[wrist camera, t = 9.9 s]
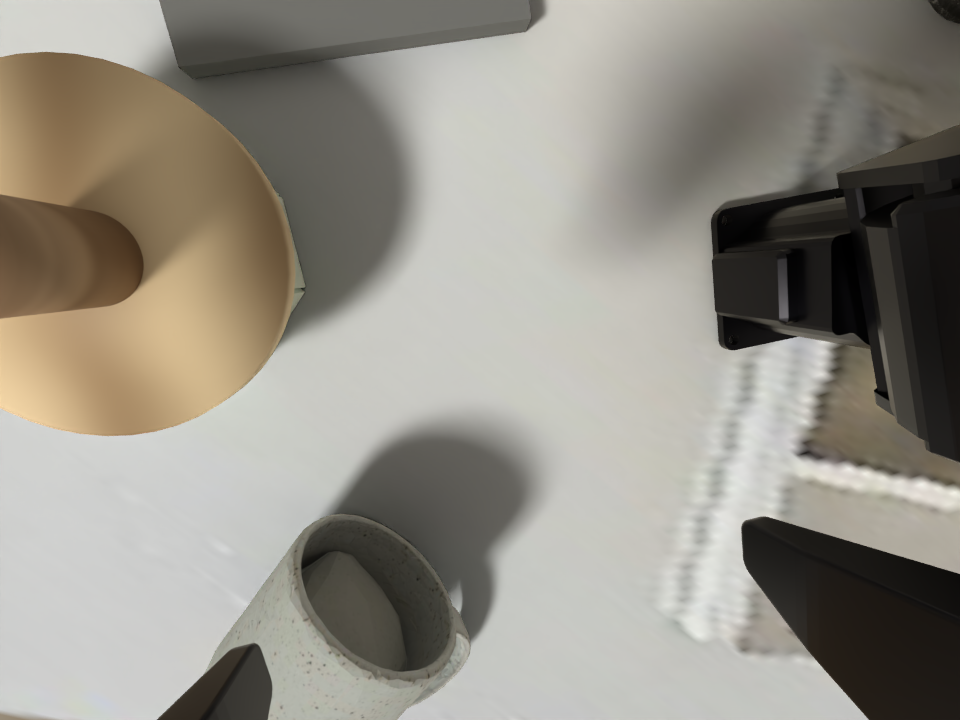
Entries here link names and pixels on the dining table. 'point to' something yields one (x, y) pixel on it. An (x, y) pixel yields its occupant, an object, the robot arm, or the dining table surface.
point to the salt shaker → (948, 9)
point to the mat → (323, 29)
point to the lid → (129, 251)
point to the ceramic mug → (352, 625)
